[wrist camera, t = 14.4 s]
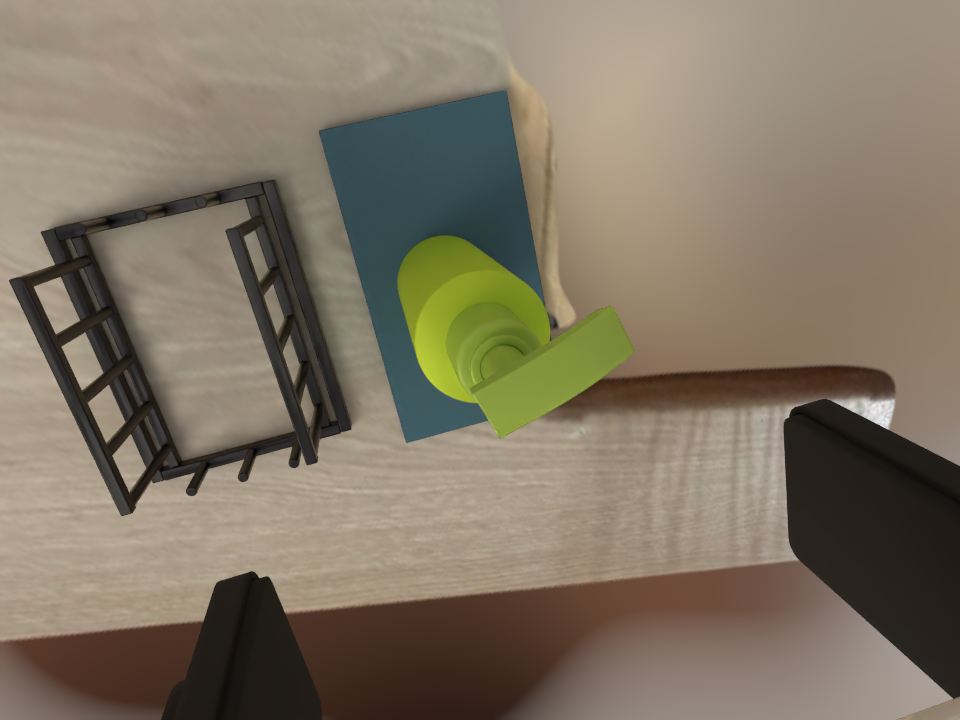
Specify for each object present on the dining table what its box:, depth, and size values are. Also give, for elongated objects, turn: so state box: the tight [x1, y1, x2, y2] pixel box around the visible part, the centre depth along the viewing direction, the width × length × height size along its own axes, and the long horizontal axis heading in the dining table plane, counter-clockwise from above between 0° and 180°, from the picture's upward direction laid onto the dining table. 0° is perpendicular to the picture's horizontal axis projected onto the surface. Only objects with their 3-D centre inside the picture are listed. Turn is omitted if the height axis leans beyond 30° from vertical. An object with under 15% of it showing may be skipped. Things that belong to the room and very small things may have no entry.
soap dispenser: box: [397, 235, 634, 438], centre depth 29 cm, size 6×7×20 cm
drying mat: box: [319, 91, 551, 443], centre depth 39 cm, size 20×11×1 cm, turn 12°
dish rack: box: [9, 180, 351, 516], centre depth 34 cm, size 16×13×8 cm
